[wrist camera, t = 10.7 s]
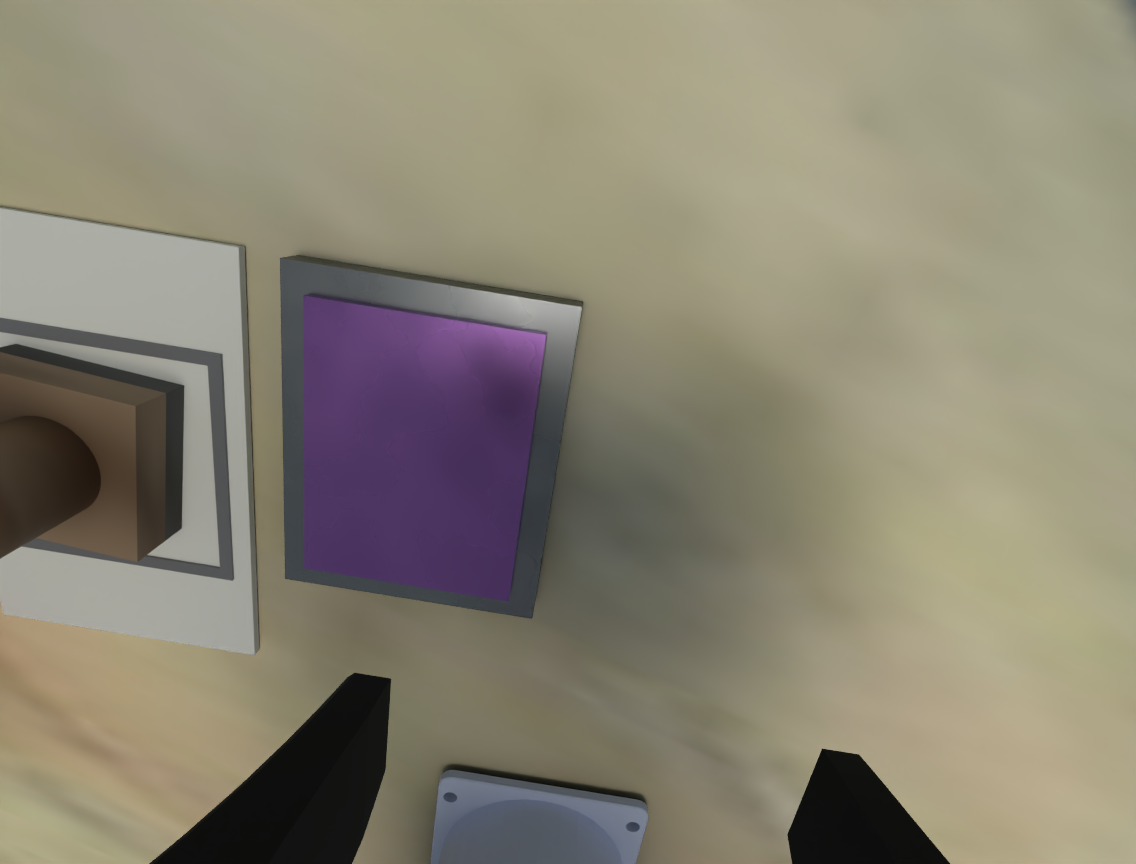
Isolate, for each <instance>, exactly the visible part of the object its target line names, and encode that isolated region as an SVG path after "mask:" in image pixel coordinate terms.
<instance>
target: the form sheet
mask: <svg viewBox="0 0 1136 864" xmlns="http://www.w3.org/2000/svg"><path fill="white" fill-rule="evenodd" d="M13 344H20V345H24V346H28V347H32V348H36V349H40V350H44V351H48V352H52V353H56V354H60V355H64V356H68V357H72V358H76V359H80V360H84V361H88V362H92V363H96V364H100V365H104V366H108V367H112V368H116V369H120V370H124V371H128V372H132V373H136V374H140V375H144V376H148V377H152V378H156V379H160V380H164V381H168V382H173V383H177V384H181V385H184V435H183V489H182V529H180V530H179V531H178V532H176V533H175V534H174V535H172V536H171V537H170V538H169V539H167V540H166V541H165V542H163V543H162V544H161V545H159V546H158V547H157V548H155V549H154V550H153V551H151V552H150V553H149V554H147V555H146V556H145V557H143V558H142V559H141V560H140V561H138V562H135V561H131V560H127V559H122V558H118V557H114V556H110V555H106V554H101V553H97V552H93V551H89V550H85V549H80V548H76V547H72V546H68V545H64V544H59V543H55V542H51V541H47V540H43V539H38V538H35V539H33V540H32V541H30V542H28V543H26V544H25V545H23V546H21V547H20V548H18V549H16V550H14V551H13V552H11V553H9V554H8V555H6V556H4V557H2V558H1V559H0V601H1V606H2V611H3V614H4V615H10V616H16V617H22V618H28V619H34V620H41V621H47V622H53V623H59V624H65V625H71V626H77V627H84V628H90V629H96V630H102V631H108V632H114V633H121V634H127V635H133V636H139V637H145V638H151V639H158V640H164V641H170V642H176V643H182V644H188V645H195V646H201V647H207V648H213V649H219V650H225V651H232V652H238V653H244V654H250V655H255V654H256V653H257V652H258V650H259V629H258V601H257V574H256V546H255V518H254V490H253V462H252V435H251V407H250V379H249V351H248V323H247V296H246V268H245V246H239V245H233V244H227V243H221V242H215V241H208V240H202V239H196V238H190V237H184V236H178V235H172V234H166V233H159V232H153V231H147V230H141V229H135V228H129V227H123V226H116V225H110V224H104V223H98V222H92V221H86V220H80V219H74V218H67V217H61V216H55V215H49V214H43V213H37V212H31V211H25V210H18V209H12V208H6V207H0V347H4V346H8V345H13Z"/></svg>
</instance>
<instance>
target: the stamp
mask: <svg viewBox="0 0 1136 864" xmlns="http://www.w3.org/2000/svg"><path fill="white" fill-rule="evenodd" d="M183 435H184V385H181V384H177V383H173V382H168V381H164V380H160V379H156V378H152V377H148V376H144V375H140V374H136V373H132V372H128V371H124V370H120V369H116V368H112V367H108V366H104V365H100V364H96V363H92V362H88V361H84V360H80V359H76V358H72V357H68V356H64V355H60V354H56V353H52V352H48V351H44V350H40V349H36V348H32V347H28V346H24V345H20V344H13V345H8V346H4V347H0V559H1V558H2V557H4V556H6V555H8V554H9V553H11V552H13V551H14V550H16V549H18V548H20V547H21V546H23V545H25V544H26V543H28V542H30V541H32V540H33V539H35V538H38V539H43V540H47V541H51V542H55V543H59V544H64V545H68V546H72V547H76V548H80V549H85V550H89V551H93V552H97V553H101V554H106V555H110V556H114V557H118V558H122V559H127V560H131V561H135V562H138V561H140V560H141V559H142V558H143V557H145V556H146V555H147V554H149V553H150V552H151V551H153V550H154V549H155V548H157V547H158V546H159V545H161V544H162V543H163V542H165V541H166V540H167V539H169V538H170V537H171V536H172V535H174V534H175V533H176V532H178V531H179V530H180V529H182V489H183Z"/></svg>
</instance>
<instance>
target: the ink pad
mask: <svg viewBox="0 0 1136 864" xmlns="http://www.w3.org/2000/svg"><path fill="white" fill-rule="evenodd" d="M280 284H281V346H282V408H283V470H284V532H285V579H291V580H297V581H303V582H309V583H315V584H322V585H328V586H334V587H340V588H346V589H352V590H358V591H365V592H371V593H377V594H383V595H389V596H395V597H402V598H408V599H414V600H420V601H426V602H432V603H438V604H445V605H451V606H457V607H463V608H469V609H475V610H482V611H488V612H494V613H500V614H506V615H512V616H519V617H525V618H531V619H532V617H533V611H534V606H535V600H536V594H537V587H538V581H539V575H540V569H541V562H542V556H543V550H544V544H545V537H546V531H547V525H548V519H549V512H550V506H551V500H552V494H553V487H554V481H555V475H556V468H557V462H558V456H559V450H560V443H561V437H562V431H563V425H564V418H565V412H566V406H567V400H568V393H569V387H570V381H571V375H572V368H573V362H574V356H575V350H576V343H577V337H578V331H579V325H580V318H581V312H582V306H583V302H582V301H576V300H570V299H564V298H558V297H552V296H545V295H539V294H533V293H527V292H521V291H515V290H509V289H503V288H496V287H490V286H484V285H478V284H472V283H466V282H460V281H454V280H447V279H441V278H435V277H429V276H423V275H417V274H411V273H405V272H398V271H392V270H386V269H380V268H374V267H368V266H362V265H356V264H349V263H343V262H337V261H331V260H325V259H319V258H313V257H306V256H300V255H296V256H289V257H283V258H280Z"/></svg>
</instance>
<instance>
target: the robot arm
mask: <svg viewBox="0 0 1136 864" xmlns="http://www.w3.org/2000/svg"><path fill="white" fill-rule="evenodd" d="M390 687H391V679H390V678H384V677H377V676H371V675H365V674H359V673H354V674H352V675H350V676H349V677H347V678H346V680H345V681H344V682H343V683H342V684H341V685H340V686H339V687H338V688H337V689H336V691H335V692H334V693H333V694H332V695H331V696H330V697H329V698H328V699H327V700H326V701H325V702H324V703H323V704H322V705H321V707H320V708H319V709H318V710H317V711H316V712H315V713H314V714H313V715H312V716H311V717H310V718H309V719H308V720H307V721H306V722H305V723H304V724H303V725H302V726H301V727H300V728H299V729H298V730H297V731H296V732H295V733H294V734H293V735H292V736H291V737H290V738H289V739H288V740H287V741H286V742H285V743H284V744H283V745H282V746H281V747H280V748H279V749H278V750H277V751H276V752H275V753H274V754H273V755H272V756H270V757H269V758H268V759H267V760H266V761H265V762H264V763H263V764H262V765H261V766H260V767H259V768H258V769H257V770H256V771H255V772H254V773H253V774H252V775H251V776H250V777H249V778H248V779H246V780H245V781H244V782H243V783H242V784H241V785H240V786H239V787H238V788H237V789H236V790H234V791H233V792H232V793H231V794H230V795H229V796H228V797H227V798H225V799H224V800H223V801H222V802H221V803H220V804H219V805H217V806H216V807H215V808H214V809H213V810H212V811H211V812H209V813H208V814H207V815H206V816H205V817H204V818H203V819H202V820H200V821H199V822H198V823H197V824H196V825H195V826H194V827H192V828H191V829H190V830H189V831H188V832H187V833H186V834H184V835H183V836H182V837H181V838H180V839H179V840H177V841H176V842H175V843H174V844H173V845H171V846H170V847H169V848H168V849H167V850H165V851H164V852H163V853H162V854H160V855H159V856H158V857H157V858H156V859H154V860H153V861H152V862H151V863H149V864H352V862H353V860H354V858H355V855H356V853H357V851H358V848H359V846H360V844H361V841H362V839H363V836H364V833H365V830H366V827H367V824H368V821H369V818H370V815H371V812H372V810H373V807H374V803H375V800H376V797H377V794H378V791H379V788H380V785H381V782H382V779H383V776H384V772H385V768H386V752H387V736H388V719H389V703H390ZM647 822H648V807H647V805H646V804H645V803H644V802H642V801H640V800H637V799H631V798H625V797H618V796H612V795H606V794H600V793H594V792H588V791H581V790H575V789H569V788H563V787H557V786H551V785H544V784H538V783H532V782H526V781H520V780H514V779H507V778H501V777H495V776H489V775H483V774H477V773H470V772H464V771H458V770H448V771H445V772H444V773H443V774H442V775H441V778H440V781H439V785H438V795H437V804H436V814H435V823H434V833H433V842H432V852H431V861H430V864H636V861H637V857H638V854H639V850H640V846H641V843H642V839H643V836H644V832H645V829H646V825H647ZM788 841H789V847H790V853H791V859H792V864H950V863H949V862H948V861H947V859H946V858H945V857H944V856H943V855H942V853H941V852H940V851H939V850H938V849H937V847H936V846H935V845H934V844H933V843H932V841H931V840H930V839H929V838H928V837H927V835H926V834H925V833H924V832H923V831H922V829H921V828H920V827H919V826H918V825H917V823H916V822H915V821H914V820H913V819H912V817H911V816H910V815H909V814H908V813H907V811H906V810H905V809H904V808H903V807H902V805H901V804H900V803H899V802H898V800H897V799H896V798H895V797H894V796H893V794H892V793H891V792H890V791H889V790H888V788H887V787H886V786H885V785H884V784H883V782H882V781H881V780H880V779H879V778H878V776H877V775H876V774H875V773H874V772H873V770H872V769H871V768H870V767H869V766H868V765H867V763H866V762H865V761H864V760H863V759H862V758H861V757H860V755H858V754H852V753H846V752H839V751H833V750H827V749H822V751H821V753H820V756H819V758H818V760H817V763H816V765H815V768H814V770H813V773H812V775H811V778H810V780H809V783H808V785H807V788H806V790H805V793H804V795H803V798H802V800H801V803H800V805H799V808H798V810H797V812H796V815H795V817H794V820H793V822H792V825H791V827H790V830H789V832H788Z"/></svg>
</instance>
